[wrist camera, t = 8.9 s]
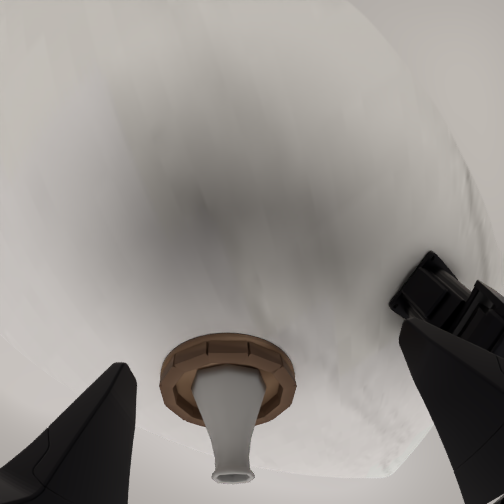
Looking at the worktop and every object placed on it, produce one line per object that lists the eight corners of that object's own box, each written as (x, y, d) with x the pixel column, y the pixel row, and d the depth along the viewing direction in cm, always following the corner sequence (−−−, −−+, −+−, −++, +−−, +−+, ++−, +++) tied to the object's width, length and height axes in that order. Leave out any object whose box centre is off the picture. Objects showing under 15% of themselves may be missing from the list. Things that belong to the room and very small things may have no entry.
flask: (186, 361, 22) (176, 462, 13) (268, 359, 23) (287, 459, 14) (195, 406, 25) (192, 489, 16) (263, 404, 26) (276, 487, 17)
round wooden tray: (320, 362, 25) (326, 377, 23) (247, 425, 29) (248, 439, 27) (197, 309, 21) (195, 326, 19) (144, 391, 25) (140, 406, 23)
